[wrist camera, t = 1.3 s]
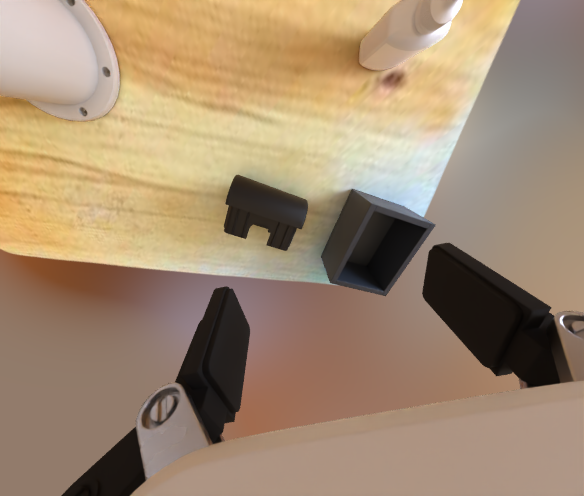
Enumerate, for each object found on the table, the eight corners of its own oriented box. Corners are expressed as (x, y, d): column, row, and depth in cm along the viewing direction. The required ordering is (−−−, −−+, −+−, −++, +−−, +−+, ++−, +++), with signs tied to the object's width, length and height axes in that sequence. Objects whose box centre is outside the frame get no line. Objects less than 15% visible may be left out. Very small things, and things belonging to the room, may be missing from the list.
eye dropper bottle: (388, 86, 25) (465, 53, 15) (351, 59, 24) (407, 3, 14) (412, 44, 24) (519, -28, 13) (373, 12, 22) (458, -97, 12)
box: (320, 256, 37) (330, 283, 30) (351, 188, 31) (371, 203, 25) (367, 268, 39) (385, 296, 32) (404, 206, 33) (436, 224, 27)
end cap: (305, 194, 31) (311, 208, 25) (288, 234, 34) (290, 254, 29) (240, 170, 29) (230, 179, 23) (229, 214, 32) (218, 233, 26)
